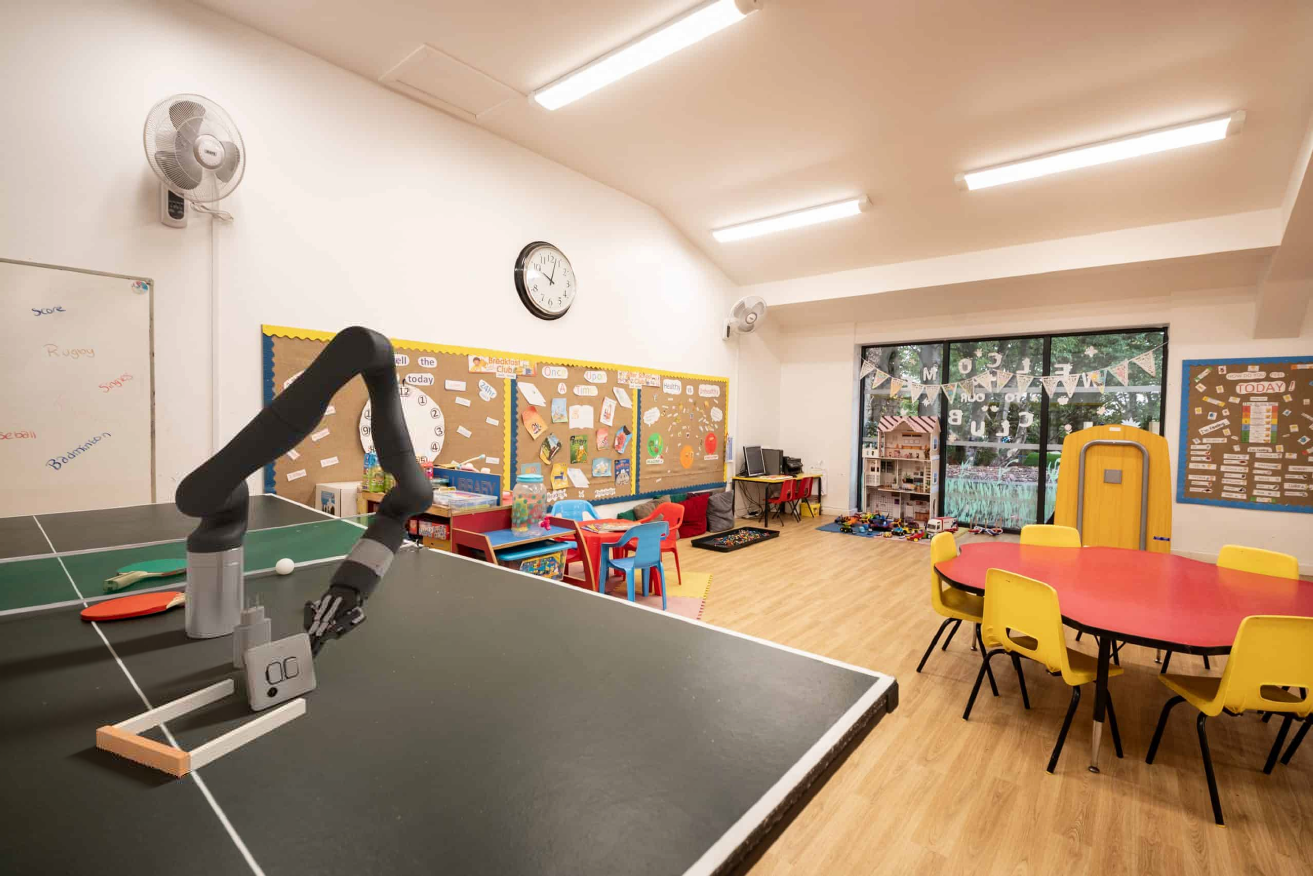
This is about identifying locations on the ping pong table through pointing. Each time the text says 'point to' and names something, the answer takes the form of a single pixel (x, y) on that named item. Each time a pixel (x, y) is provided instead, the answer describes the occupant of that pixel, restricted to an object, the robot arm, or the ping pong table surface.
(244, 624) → the power adapter
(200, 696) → the frame
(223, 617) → the robot arm
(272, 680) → the electrical switch
